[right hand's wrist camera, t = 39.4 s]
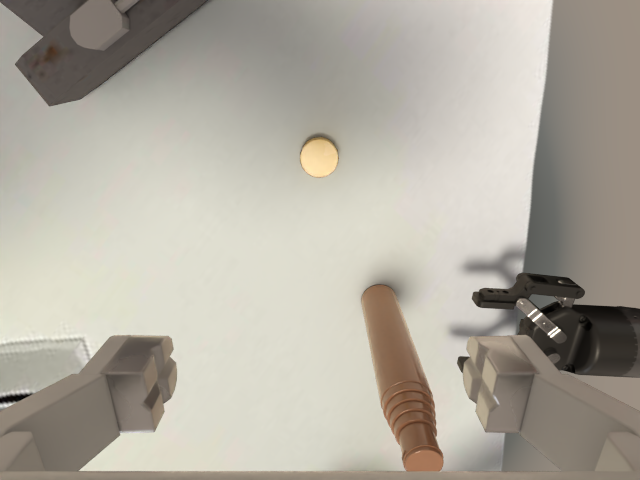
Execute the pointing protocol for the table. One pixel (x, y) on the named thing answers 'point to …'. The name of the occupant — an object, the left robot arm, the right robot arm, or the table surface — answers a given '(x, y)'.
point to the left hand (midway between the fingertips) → (466, 333)
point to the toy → (90, 40)
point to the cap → (319, 157)
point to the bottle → (401, 380)
